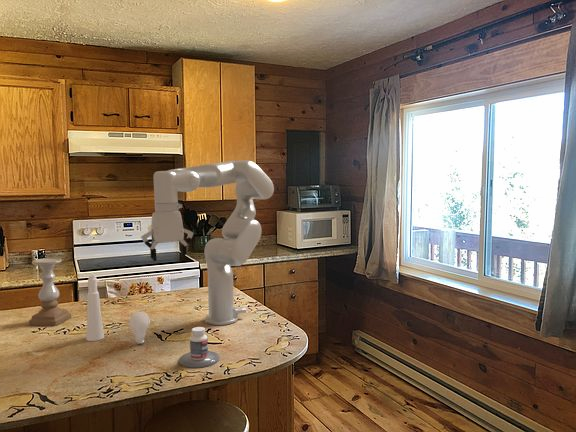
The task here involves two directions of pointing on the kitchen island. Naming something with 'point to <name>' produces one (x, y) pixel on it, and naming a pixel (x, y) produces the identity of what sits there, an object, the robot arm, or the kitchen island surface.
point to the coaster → (210, 360)
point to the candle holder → (49, 297)
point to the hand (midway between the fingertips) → (168, 258)
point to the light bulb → (139, 325)
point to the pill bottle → (198, 344)
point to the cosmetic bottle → (93, 312)
